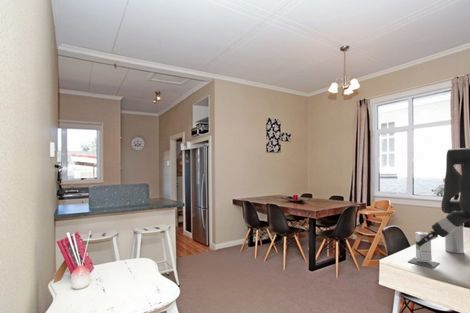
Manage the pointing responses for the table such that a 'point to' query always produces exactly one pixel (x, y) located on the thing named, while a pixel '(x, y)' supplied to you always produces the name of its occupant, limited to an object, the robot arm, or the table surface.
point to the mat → (424, 262)
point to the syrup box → (423, 247)
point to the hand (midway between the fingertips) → (420, 243)
